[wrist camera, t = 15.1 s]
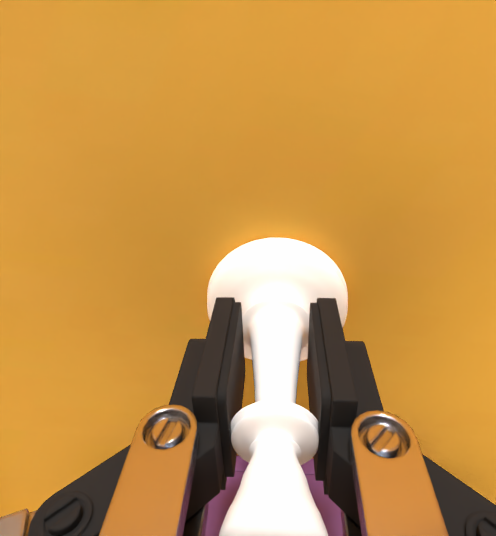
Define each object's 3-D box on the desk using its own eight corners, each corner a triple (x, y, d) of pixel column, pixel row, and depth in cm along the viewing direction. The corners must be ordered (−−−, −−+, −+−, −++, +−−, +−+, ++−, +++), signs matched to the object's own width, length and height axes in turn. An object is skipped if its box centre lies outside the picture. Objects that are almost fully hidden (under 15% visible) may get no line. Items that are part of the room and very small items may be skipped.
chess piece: (336, 357, 15) (413, 778, 6) (209, 348, 15) (116, 743, 7) (358, 241, 13) (529, 663, 4) (206, 232, 13) (55, 615, 4)
